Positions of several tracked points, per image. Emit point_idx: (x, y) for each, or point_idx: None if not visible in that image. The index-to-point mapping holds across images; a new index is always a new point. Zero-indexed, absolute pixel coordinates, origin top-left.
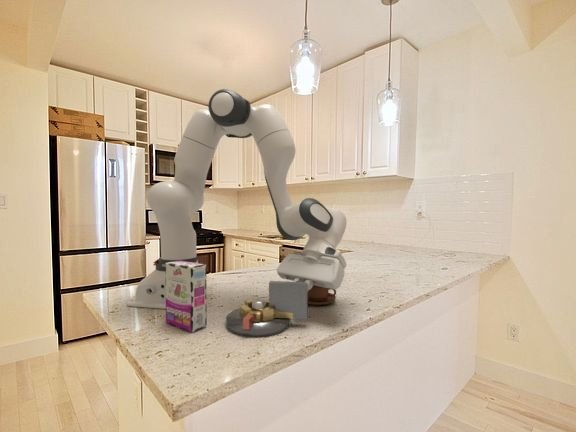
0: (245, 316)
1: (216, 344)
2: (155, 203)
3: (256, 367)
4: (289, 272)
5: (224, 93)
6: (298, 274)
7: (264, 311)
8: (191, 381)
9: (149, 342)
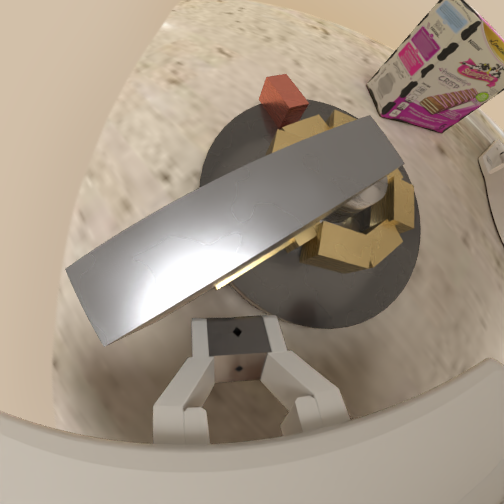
0: (295, 86)
1: (284, 67)
2: None
3: (142, 56)
4: (434, 406)
5: None
6: (334, 444)
7: (275, 134)
8: (208, 8)
9: (367, 48)
